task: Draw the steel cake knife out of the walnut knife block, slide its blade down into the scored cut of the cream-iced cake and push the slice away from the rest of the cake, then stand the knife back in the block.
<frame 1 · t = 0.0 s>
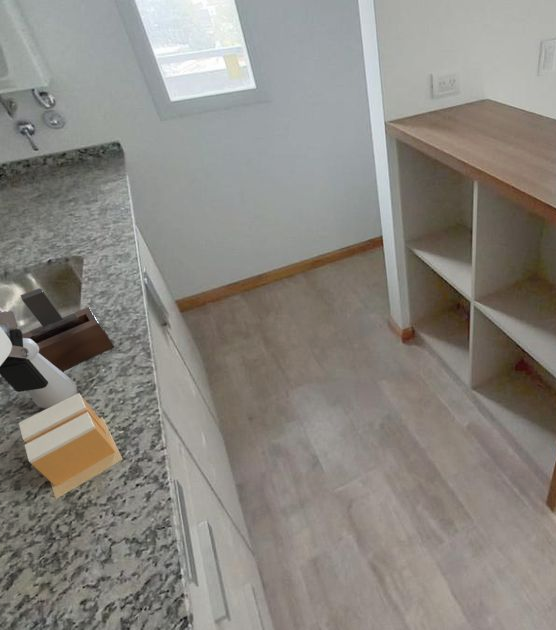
hand: (9, 422, 46), 19 cm above the countertop, tool pointing down, fingers open, 9 cm apart
knife block: (76, 353, 83), on the countertop
salt shaker: (64, 403, 74), on the countertop
cake: (83, 457, 64), on the countertop
cake slice: (83, 460, 63), point 1 cm above the countertop, touching cake
knife: (55, 325, 79), in the knife block
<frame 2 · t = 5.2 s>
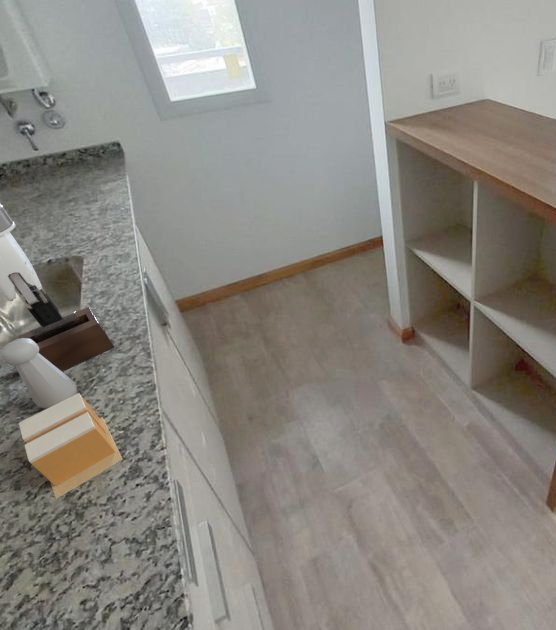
hand: (50, 318, 78), 9 cm above the countertop, tool pointing down, fingers closed on knife, 2 cm apart
knife: (55, 325, 79), in the knife block, touching gripper
everything else where it was.
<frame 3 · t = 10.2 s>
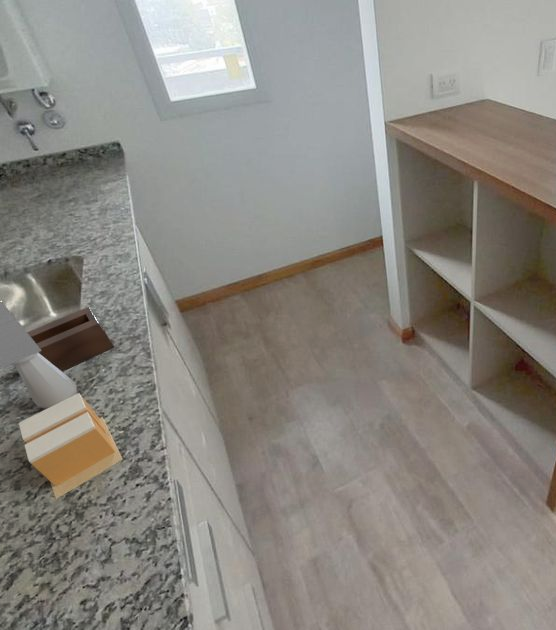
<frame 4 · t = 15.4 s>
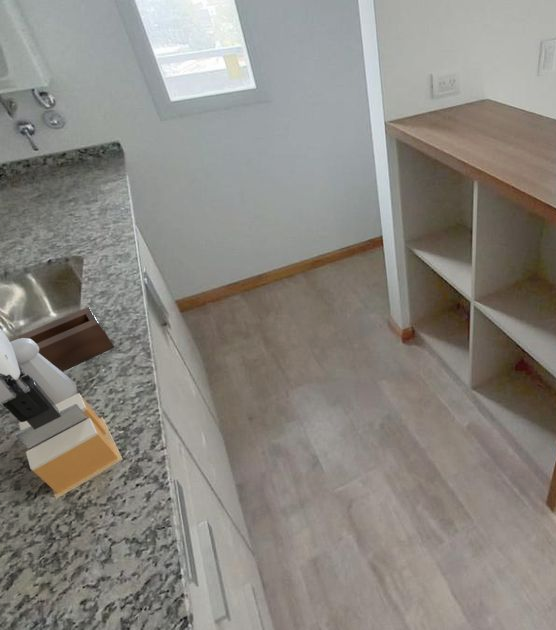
hand: (33, 408, 56), 12 cm above the countertop, tool pointing down, fingers closed on knife, 2 cm apart
cake slice: (85, 467, 62), point 1 cm above the countertop, touching cake
knife: (50, 423, 59), point 9 cm above the countertop, touching gripper
everything else where it was.
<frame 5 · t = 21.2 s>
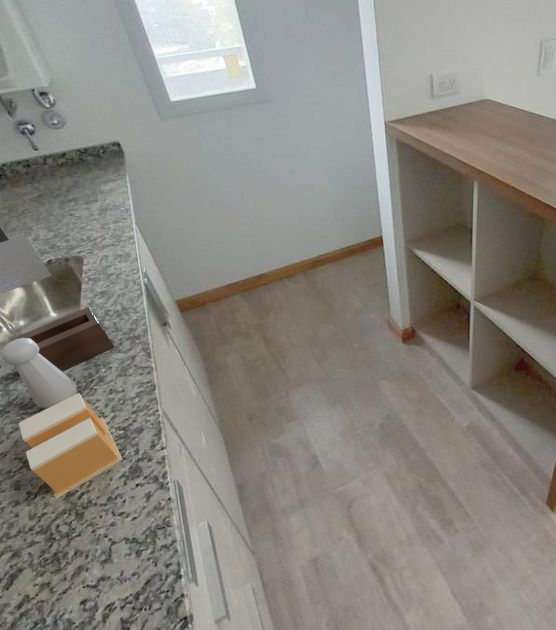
knife: (0, 247, 69), point 23 cm above the countertop, touching gripper
everything else where it was.
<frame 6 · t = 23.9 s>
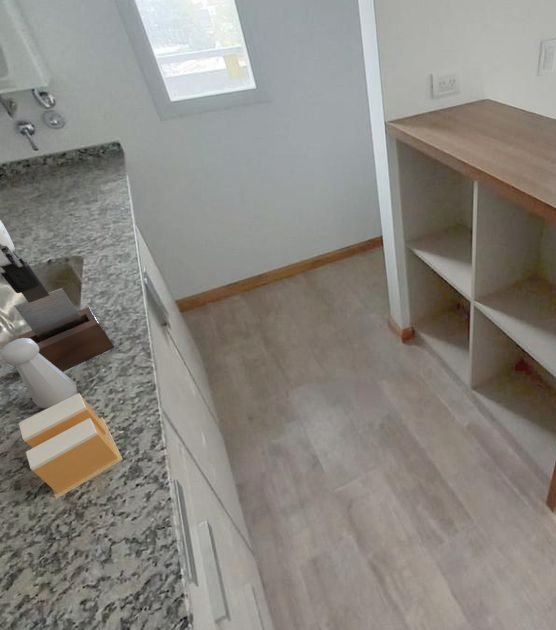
hand: (26, 285, 73), 16 cm above the countertop, tool pointing down, fingers closed on knife, 2 cm apart
knife: (41, 301, 76), point 12 cm above the countertop, touching gripper
everything else where it was.
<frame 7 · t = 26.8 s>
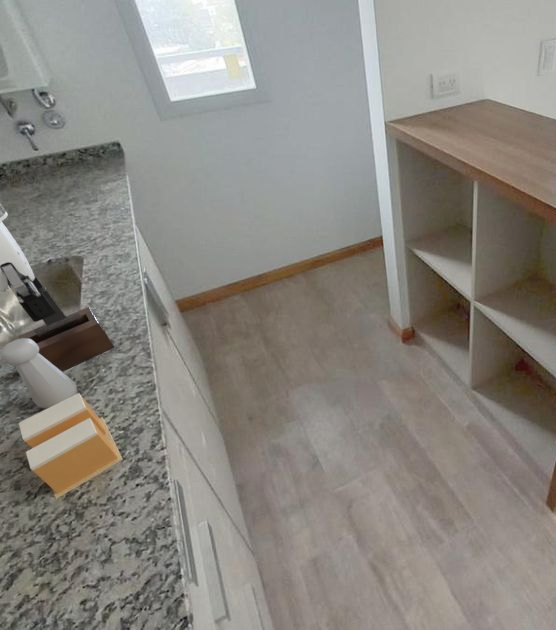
hand: (40, 305, 76), 12 cm above the countertop, tool pointing down, fingers open, 9 cm apart
knife: (59, 323, 79), in the knife block
everything else where it was.
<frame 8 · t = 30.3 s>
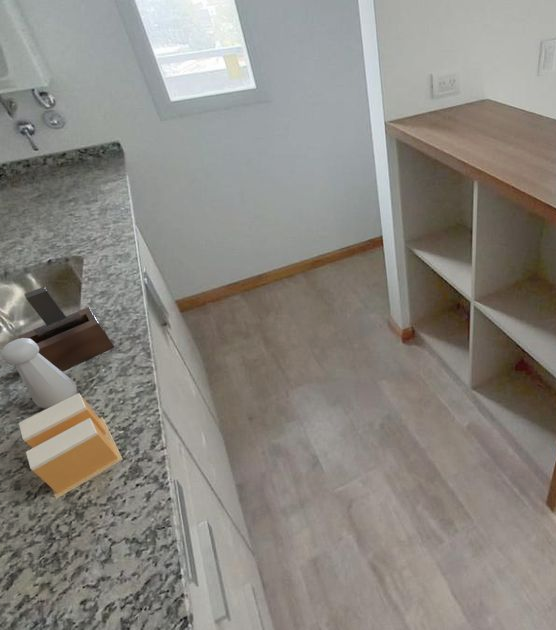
nothing on the countertop moved.
at the end: cake slice moved 1.5 cm from its start; cake slice tilted 0°; knife 0.5 cm off-centre on the knife block, point 7.0 cm above the knife block's base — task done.
